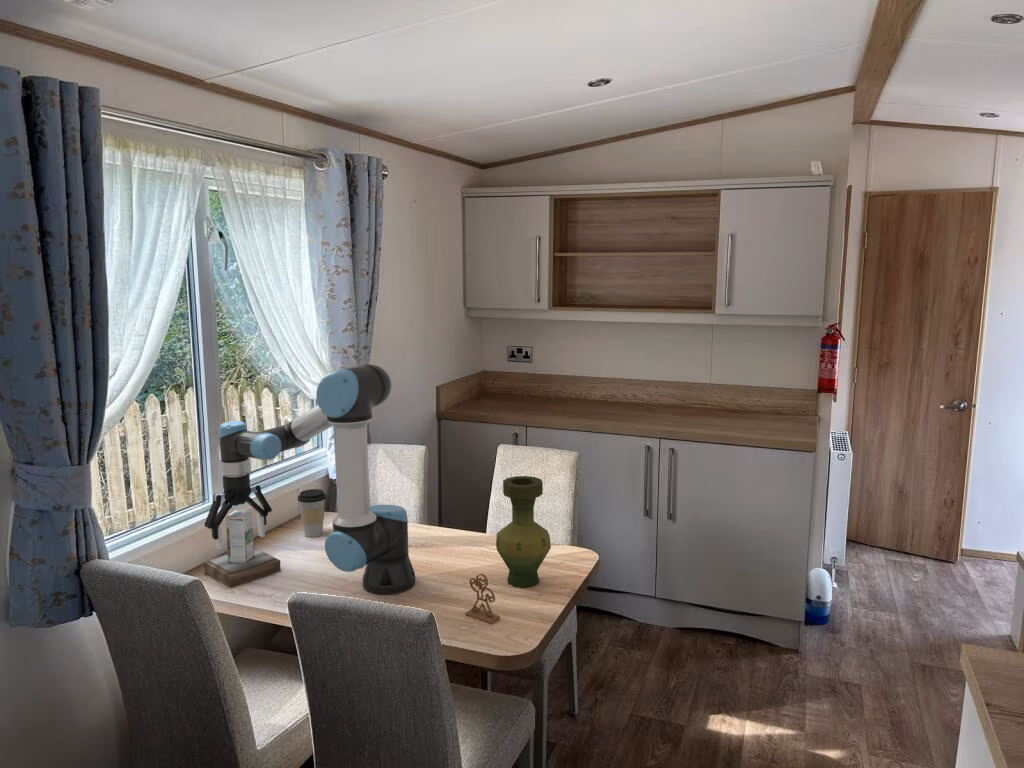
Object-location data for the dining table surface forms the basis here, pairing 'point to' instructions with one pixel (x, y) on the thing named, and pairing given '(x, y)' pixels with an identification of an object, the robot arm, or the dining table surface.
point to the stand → (242, 568)
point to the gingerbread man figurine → (475, 611)
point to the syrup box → (240, 536)
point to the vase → (523, 533)
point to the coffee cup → (312, 511)
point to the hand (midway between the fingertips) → (240, 542)
